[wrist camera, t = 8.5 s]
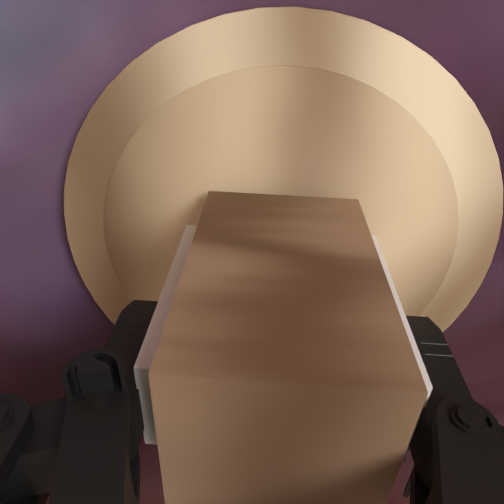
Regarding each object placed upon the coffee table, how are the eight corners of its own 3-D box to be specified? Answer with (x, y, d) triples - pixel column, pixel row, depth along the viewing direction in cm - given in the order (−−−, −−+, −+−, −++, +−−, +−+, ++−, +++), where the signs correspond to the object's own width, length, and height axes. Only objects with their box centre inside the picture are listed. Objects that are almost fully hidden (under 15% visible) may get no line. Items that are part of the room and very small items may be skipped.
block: (210, 306, 17) (166, 517, 10) (208, 191, 15) (148, 374, 8) (337, 314, 17) (374, 533, 10) (358, 199, 14) (427, 392, 8)
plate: (104, 369, 21) (98, 383, 21) (27, -7, 13) (12, -6, 12) (429, 390, 21) (435, 405, 20) (570, 18, 13) (589, 20, 12)
